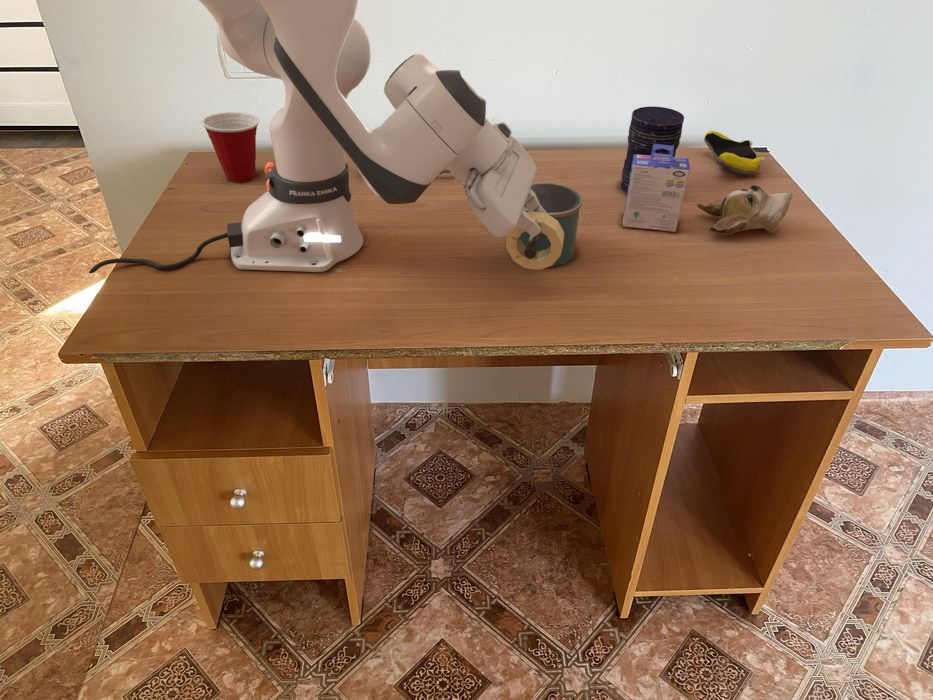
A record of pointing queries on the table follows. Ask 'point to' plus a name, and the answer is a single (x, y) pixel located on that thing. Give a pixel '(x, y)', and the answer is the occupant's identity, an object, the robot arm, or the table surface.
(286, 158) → the robot arm
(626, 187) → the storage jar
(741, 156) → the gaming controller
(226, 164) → the plastic cup
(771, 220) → the ceramic sculpture
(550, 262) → the tape roll
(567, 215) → the saucepan
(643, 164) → the ink cartridge box
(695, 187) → the table surface
